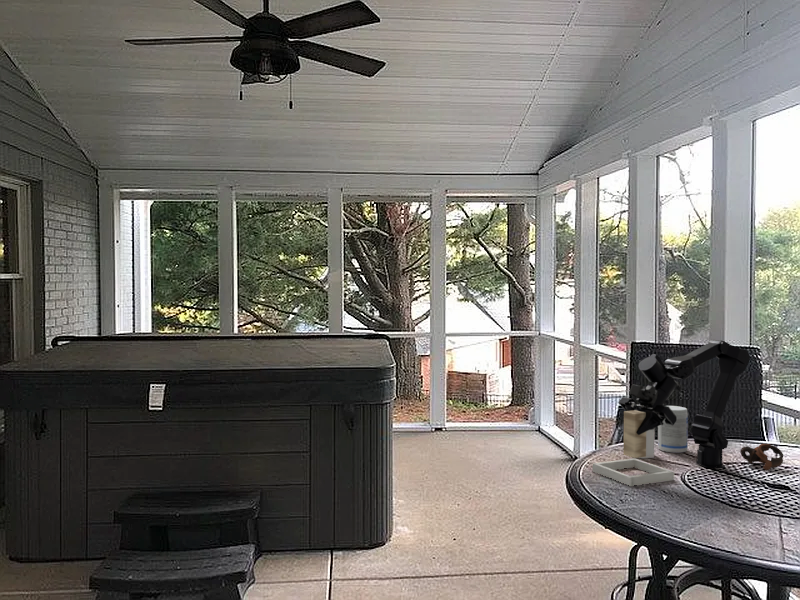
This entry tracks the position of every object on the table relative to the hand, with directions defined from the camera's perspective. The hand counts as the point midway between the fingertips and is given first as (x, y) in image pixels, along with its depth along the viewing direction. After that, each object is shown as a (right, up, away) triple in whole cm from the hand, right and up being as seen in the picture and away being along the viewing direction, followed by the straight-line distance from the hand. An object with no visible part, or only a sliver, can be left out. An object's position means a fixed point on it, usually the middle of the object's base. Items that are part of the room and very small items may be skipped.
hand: (631, 432), depth 205 cm
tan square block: (+1, -7, +1) cm, 7 cm away
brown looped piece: (+45, -14, +13) cm, 49 cm away
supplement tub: (+25, -13, +34) cm, 44 cm away
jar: (+12, -13, +26) cm, 32 cm away
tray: (+1, -13, +2) cm, 14 cm away
